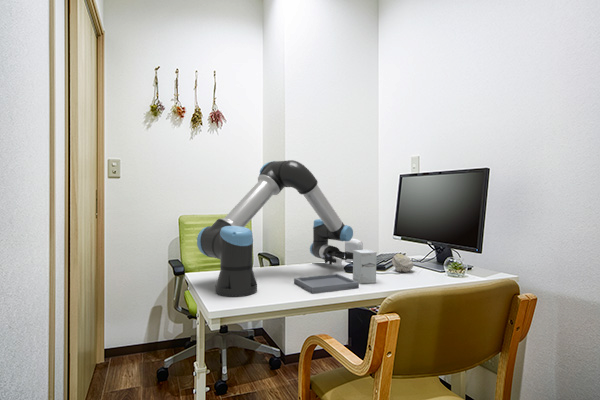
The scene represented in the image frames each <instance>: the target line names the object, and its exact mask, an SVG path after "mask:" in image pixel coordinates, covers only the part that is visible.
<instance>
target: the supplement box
mask: <svg viewBox="0 0 600 400" xmlns="http://www.w3.org/2000/svg"><path fill="white" fill-rule="evenodd" d="M377 255H378V254H377V251H375V250H371V249H363V250H353V263H352V280H354V281H357V282H359V285H360V284H376V283H377V257H378V256H377Z"/></svg>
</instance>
